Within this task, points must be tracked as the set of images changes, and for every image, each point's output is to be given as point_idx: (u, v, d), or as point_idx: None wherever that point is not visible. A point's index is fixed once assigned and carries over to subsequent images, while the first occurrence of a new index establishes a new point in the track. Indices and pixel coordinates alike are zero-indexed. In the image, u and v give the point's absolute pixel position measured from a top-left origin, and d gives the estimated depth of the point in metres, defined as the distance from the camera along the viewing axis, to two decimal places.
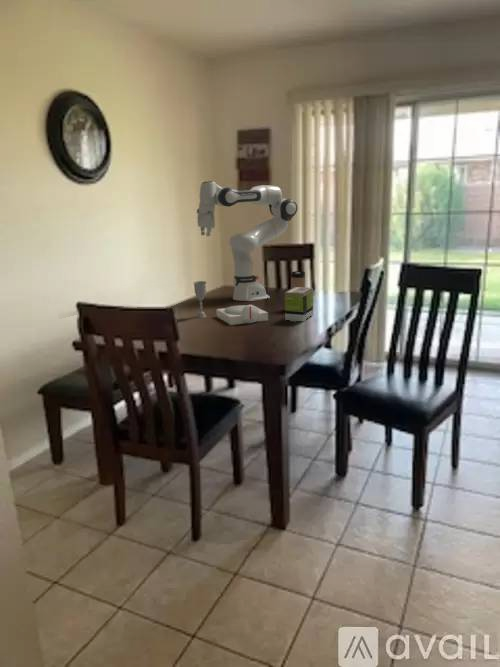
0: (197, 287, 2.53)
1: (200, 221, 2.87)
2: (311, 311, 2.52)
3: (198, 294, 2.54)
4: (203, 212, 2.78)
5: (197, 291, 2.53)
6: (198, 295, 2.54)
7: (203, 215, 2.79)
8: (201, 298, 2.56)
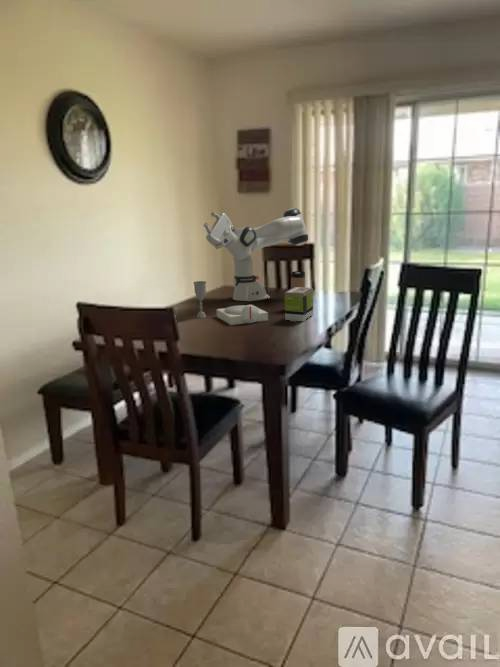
0: (197, 287, 2.53)
1: None
2: (311, 311, 2.52)
3: (198, 294, 2.54)
4: None
5: (197, 291, 2.53)
6: (198, 295, 2.54)
7: None
8: (201, 298, 2.56)
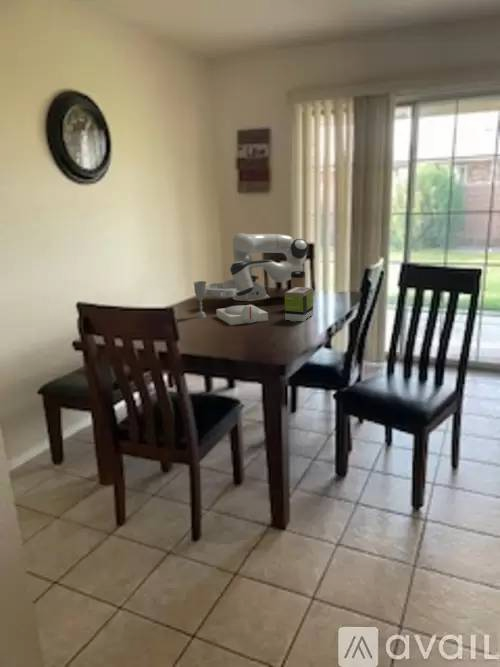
0: (197, 287, 2.53)
1: (210, 288, 2.75)
2: (311, 311, 2.52)
3: (198, 294, 2.54)
4: (228, 285, 2.76)
5: (197, 291, 2.53)
6: (198, 295, 2.54)
7: (224, 286, 2.75)
8: (201, 298, 2.56)
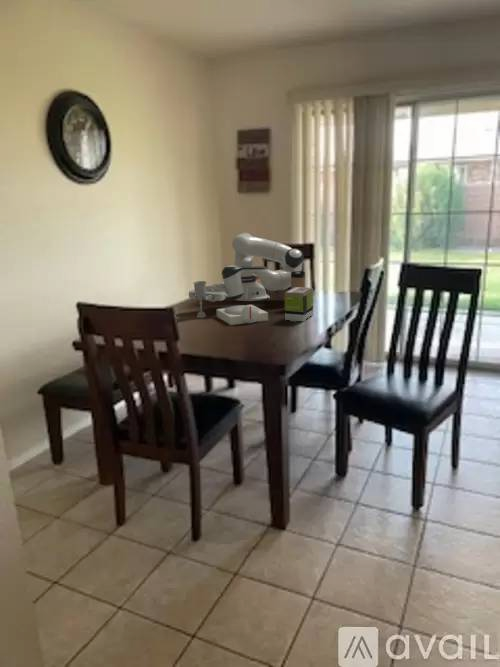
0: (197, 287, 2.53)
1: None
2: (311, 311, 2.52)
3: (198, 294, 2.54)
4: (217, 288, 2.65)
5: (197, 291, 2.53)
6: (198, 295, 2.54)
7: (213, 289, 2.65)
8: (201, 298, 2.56)
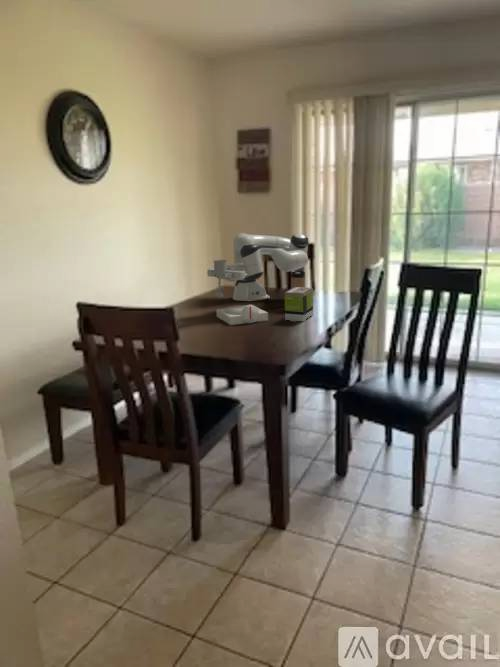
0: (217, 264, 2.45)
1: None
2: (311, 311, 2.52)
3: (217, 272, 2.47)
4: (236, 267, 2.58)
5: (216, 269, 2.46)
6: (217, 273, 2.47)
7: (233, 268, 2.57)
8: (220, 277, 2.48)
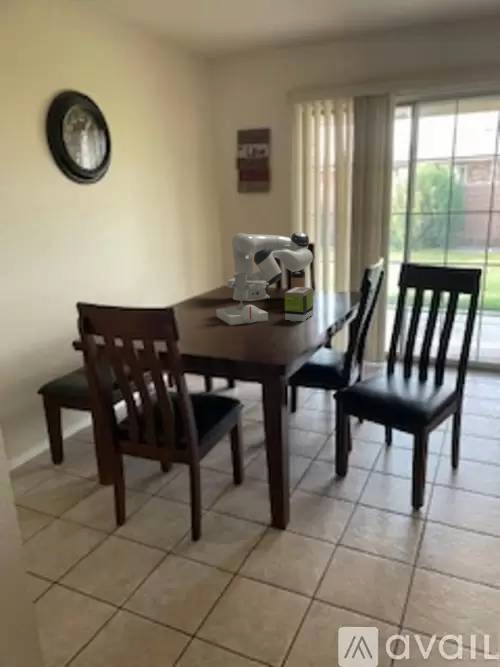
0: (238, 278, 2.45)
1: None
2: (311, 311, 2.52)
3: (239, 285, 2.47)
4: (256, 277, 2.58)
5: (238, 282, 2.46)
6: (239, 287, 2.47)
7: (253, 278, 2.57)
8: (242, 290, 2.48)
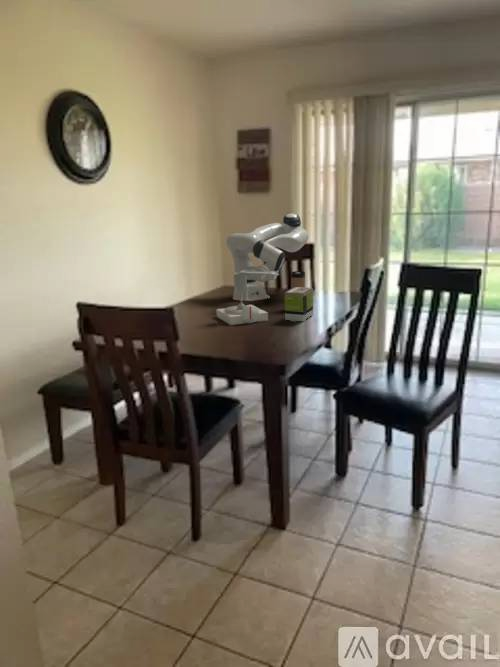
0: (238, 278, 2.45)
1: (249, 271, 2.67)
2: (311, 311, 2.52)
3: (239, 285, 2.47)
4: (266, 268, 2.67)
5: (238, 282, 2.46)
6: (239, 287, 2.47)
7: (263, 269, 2.67)
8: (242, 290, 2.48)
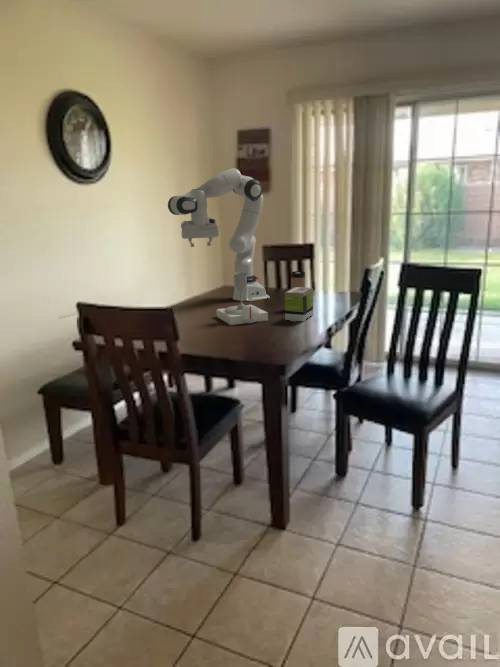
0: (238, 278, 2.45)
1: None
2: (311, 311, 2.52)
3: (239, 285, 2.47)
4: None
5: (238, 282, 2.46)
6: (239, 287, 2.47)
7: None
8: (242, 290, 2.48)
